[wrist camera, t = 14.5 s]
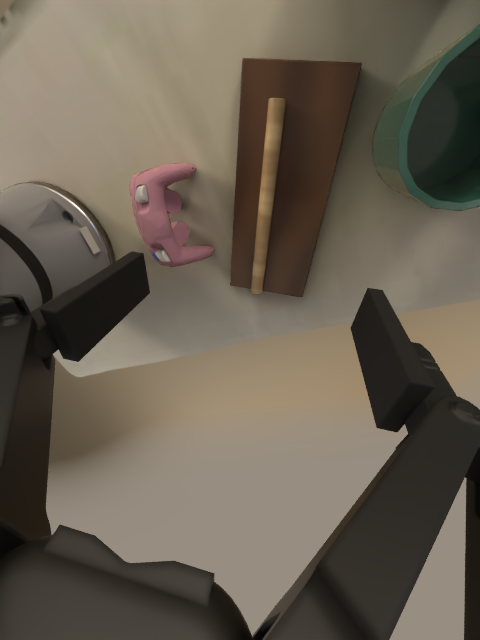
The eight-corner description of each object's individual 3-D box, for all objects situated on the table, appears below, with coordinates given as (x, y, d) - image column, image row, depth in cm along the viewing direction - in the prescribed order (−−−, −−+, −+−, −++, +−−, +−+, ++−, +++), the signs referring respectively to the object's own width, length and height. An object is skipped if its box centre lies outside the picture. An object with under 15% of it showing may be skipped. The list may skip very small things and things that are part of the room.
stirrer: (348, 216, 26) (254, 293, 31) (276, 89, 20) (169, 210, 24) (355, 219, 25) (256, 299, 30) (280, 86, 19) (167, 213, 23)
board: (232, 282, 32) (230, 285, 31) (244, 61, 20) (242, 57, 19) (302, 293, 31) (302, 297, 30) (359, 66, 19) (362, 62, 18)
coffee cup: (357, 187, 23) (375, 201, 17) (400, 48, 18) (448, -3, 12) (461, 198, 22) (521, 218, 16) (541, 52, 17) (675, -1, 11)
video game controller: (170, 164, 27) (110, 174, 23) (198, 158, 24) (136, 168, 20) (194, 252, 32) (149, 274, 28) (219, 255, 29) (173, 279, 25)
